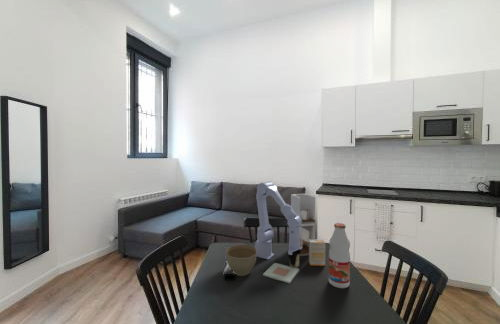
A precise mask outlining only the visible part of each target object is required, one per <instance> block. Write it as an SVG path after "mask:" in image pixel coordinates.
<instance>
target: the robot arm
mask: <svg viewBox="0 0 500 324" xmlns="http://www.w3.org/2000/svg"><path fill="white" fill-rule="evenodd" d="M268 196H270V197H272V199H274V200H275V202H276V203H277V205H278V206H279V207H280V212H281V214H282V215H283V216H284V217H285V219H286V221H287V222H286V224H287V226H288V228H289V230H288V231H289V233H288V234H289V235H288V236H289V237H288V238H289V239H288V240H289V241H288V250H287V251H286V254H287V257H289V264H290V263H291V265H295V263H296V257H297V255H298V254H299V255H300V252H301V250H302V247H300V246H301V242H300V225H301V224H302V219H301V217H300V216H299V215H297V214H295V212H294V211H293V210H292V207H291V204H289V203H286V202H285V200H284V198H283V196H282V195H281V194H280V192H279V191H278V186H277V185H276V184H275V183H274V182H273V181H266V182H260V183H258V185H257V186H256V195H255V197H256V198H255V199H256V207H257V213H258V214H257V215H258V220H259V226H258V228H257V234H256V238H257V240H256V241H255V243H254V248H255V249H256V250H257V256H256V258H257V257H258V258H260V259H264V260H270V259H271V258H272V257H273V256H275V253H273V252H272V251H273V249H272V246H273V245H272V243H273V242H272V240H273V238H274V237H275V231H274V230H273V226H272V225H271V224H270V221H269V213H268V206H267V199H266V198H267V197H268Z"/></svg>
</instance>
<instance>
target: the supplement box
mask: <svg viewBox="0 0 500 324" xmlns="http://www.w3.org/2000/svg"><path fill="white" fill-rule="evenodd" d="M308 262H309V266H315V267H317V266H319V267H325V266H326V241H325V240H324V239H320V238H319V239H309V255H308Z"/></svg>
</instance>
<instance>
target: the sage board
mask: <svg viewBox="0 0 500 324" xmlns="http://www.w3.org/2000/svg"><path fill="white" fill-rule="evenodd" d="M299 272H300V269H299V268H298V267H297V268H294V267H290V265H289V266H288V265H285V264H282V263H276V262H274V263H272V264H271V266H269V268H267V269H266V270H265V272H263V273H262V276H263V277H266V278H270V279H272V280H277V281H281V282H283V283H287V284H291V282H292V281H293V280H294V278H295V277H296V276H297V274H298V273H299Z"/></svg>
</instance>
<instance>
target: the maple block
mask: <svg viewBox="0 0 500 324" xmlns="http://www.w3.org/2000/svg"><path fill="white" fill-rule="evenodd" d="M299 266H300V256H299V254H298V255H297V257H296V263H295V265H291V263H290V262H289V267H293V268H297V269H298V267H299Z"/></svg>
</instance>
